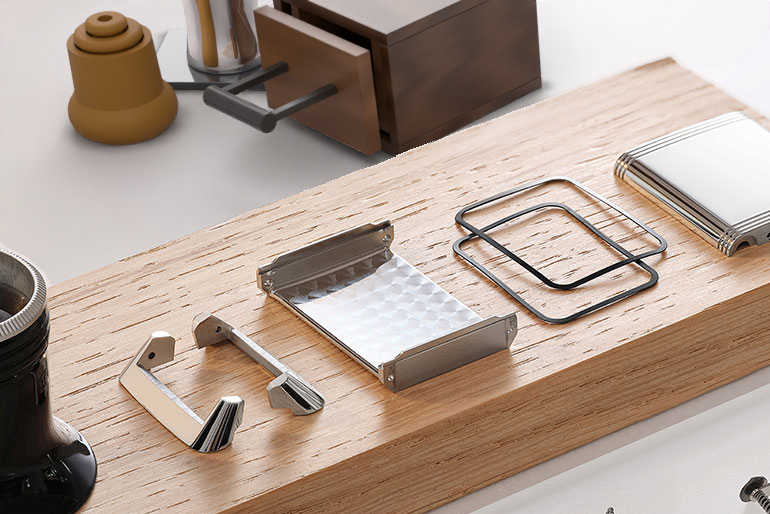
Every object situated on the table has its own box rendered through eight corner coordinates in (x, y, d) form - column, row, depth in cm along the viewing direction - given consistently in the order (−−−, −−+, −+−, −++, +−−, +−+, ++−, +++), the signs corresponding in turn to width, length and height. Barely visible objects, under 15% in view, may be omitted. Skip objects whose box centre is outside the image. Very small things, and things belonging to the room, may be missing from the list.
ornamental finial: (71, 104, 150) (178, 92, 151) (71, 155, 144) (182, 142, 146) (48, 0, 145) (159, -11, 146) (47, 48, 139) (162, 36, 141)
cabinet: (400, 159, 144) (386, 34, 138) (288, 105, 150) (269, -17, 144) (542, 86, 152) (534, -34, 146) (430, 38, 158) (418, -79, 152)
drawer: (292, 194, 138) (276, 93, 134) (190, 143, 144) (172, 44, 139) (502, 89, 150) (494, -8, 145) (401, 45, 155) (390, -50, 150)
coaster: (315, 37, 158) (314, 30, 158) (295, 90, 152) (294, 83, 151) (169, 36, 158) (168, 29, 158) (143, 89, 152) (141, 82, 151)
